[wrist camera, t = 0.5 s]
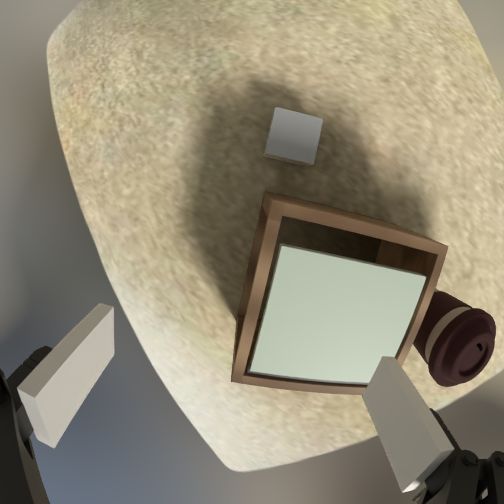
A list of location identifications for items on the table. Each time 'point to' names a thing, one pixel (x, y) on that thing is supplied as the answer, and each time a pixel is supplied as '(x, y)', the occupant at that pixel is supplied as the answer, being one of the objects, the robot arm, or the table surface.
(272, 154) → the block
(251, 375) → the box frame
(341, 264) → the trapdoor
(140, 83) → the table surface
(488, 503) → the robot arm
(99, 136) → the table surface
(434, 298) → the coffee cup
